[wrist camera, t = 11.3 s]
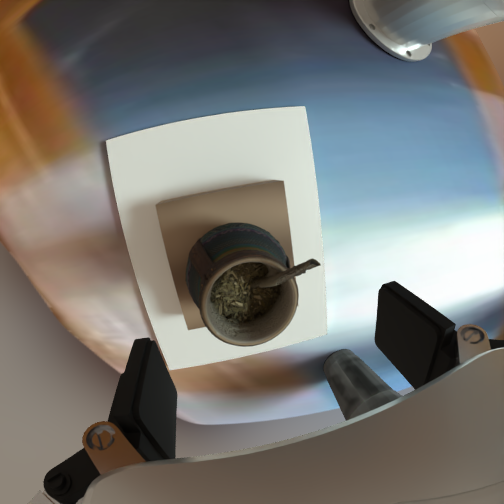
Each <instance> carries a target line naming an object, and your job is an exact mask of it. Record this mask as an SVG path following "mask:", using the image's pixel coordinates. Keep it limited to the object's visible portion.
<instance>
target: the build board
mask: <svg viewBox="0 0 504 504" xmlns="http://www.w3.org/2000/svg"><path fill="white" fill-rule="evenodd" d="M106 145H107V152H108V158H109V164H110V170H111V176H112V182H113V187H114V192H115V197H116V202H117V207H118V211H119V216H120V220H121V224H122V228H123V232H124V236H125V240H126V244H127V248H128V252H129V255H130V259H131V262H132V266H133V269H134V273H135V276H136V279H137V283H138V286H139V289H140V292H141V295H142V298H143V301H144V304H145V307H146V310H147V313H148V316H149V319H150V321H151V324H152V327H153V330H154V332H155V335H156V338H157V340H158V343H159V345H160V348H161V350H162V353H163V355H164V358H165V360H166V363H167V365H168V367H169V370H174V369H180V368H187V367H193V366H198V365H204V364H209V363H215V362H220V361H225V360H230V359H235V358H239V357H244V356H248V355H253V354H257V353H261V352H265V351H269V350H273V349H277V348H281V347H285V346H289V345H292V344H296V343H300V342H303V341H307V340H310V339H314V338H317V337H320V336H324V335H327V308H326V286H325V269H324V254H323V241H322V230H321V219H320V209H319V200H318V191H317V183H316V175H315V167H314V160H313V153H312V146H311V140H310V133H309V127H308V121H307V115H306V110H305V106H300V107H283V108H269V109H259V110H249V111H241V112H233V113H225V114H219V115H212V116H206V117H200V118H195V119H190V120H184V121H179V122H175V123H170V124H165V125H161V126H157V127H153V128H149V129H145V130H141V131H137V132H133V133H130V134H126V135H123V136H119V137H116V138H113V139H109V140H106ZM269 180H281V181H284V186H285V193H286V201H287V208H288V216H289V224H290V232H291V240H292V249H293V257H294V266H296V265H298V264H301V263H303V262H306V261H307V260H309V259H316V260H317V261H318V262H319V263H320V265H321V266H317V267H314V268H312V269H310V270H306V273H304V274H303V273H302V275H299V276H296V283H297V285H298V292H299V298H298V306H297V309H296V312H295V315H294V317H293V319H292V320H291V322H290V324H289V325H288V326H287V327H286V329H285V330H284V331H283V332H282V333H280V334H279V335H278V336H276V337H275V338H274V339H272V340H270V341H268V342H266V343H263V344H260V345H256V346H250V347H241V346H235V345H230V344H227V343H225V342H222V341H221V340H219V339H217V338H216V337H215V336H214V335H212V334H211V332H210V331H209V330H208V329H207V328H206V327H203V328H198V329H192V330H188V329H187V325H186V322H185V319H184V316H183V312H182V309H181V306H180V302H179V299H178V295H177V292H176V288H175V285H174V281H173V277H172V273H171V270H170V266H169V262H168V258H167V254H166V250H165V246H164V242H163V238H162V233H161V229H160V224H159V220H158V215H157V211H156V206H155V205H156V204H157V203H159V202H160V201H163V200H168V199H172V198H177V197H181V196H186V195H191V194H196V193H201V192H206V191H211V190H216V189H222V188H227V187H233V186H238V185H244V184H250V183H256V182H262V181H269Z"/></svg>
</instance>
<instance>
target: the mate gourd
mask: <svg viewBox="0 0 504 504" xmlns="http://www.w3.org/2000/svg"><path fill="white" fill-rule="evenodd" d="M188 255H189V257H188V262H187V266H186V279H185V281H186V285H187V287H188V290H189V294H190V295H191V297H192V299H193V301H194V303H195V304H196V306H197V307H198V308H199V310H200V315H201V318H202V320H203V323H204V325H205V327H206V328H207V329H208V330H209V331H210V332H211V334H212V335H214V336H215V337H216V338H217V339H219V340H221V341H222V342H225V343H227V344H230V345H235V346H241V347H250V346H256V345H260V344H263V343H266V342H268V341H270V340H272V339H274V338H275V337H276V336H278V335H279V334H280V333H282V332H283V331H284V330H285V329H286V327H287V326H288V325H289V324H290V322H291V320H292V319H293V317H294V315H295V312H296V309H297V305H298V298H299V292H298V285H297V283H296V280H295V278H294V277H295V276H299V275H302V273H303V274H304V273H306V270H310V269H312V268H314V267H317V266H321V265H320V263H319V262H318V261H317V260H316V259H309V260H307V261H306V262H303V263H301V264H298V265H296V266H293V267H292V268H291V266H290V261H289V258H288V256H287V255H286V254H285V251H284V249H283V248H282V246H281V245H280V243H279V241H278V240H276V239H275V237H273V236H272V235H271V234H270V232H268V231H266V230H265V229H262V228H260V227H258V226H256V225H252V224H249V223H228V224H224V225H220V226H218V227H216V228H214V229H212V230H210V231H208V232H207V233H206V234H204V235H203V236H202V237H201V238H199V239H198V240H197V242H196V243H195V244H194V245H193V247H192V248H191V250H190V252H189V254H188Z"/></svg>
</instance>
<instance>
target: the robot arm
mask: <svg viewBox="0 0 504 504" xmlns="http://www.w3.org/2000/svg"><path fill="white" fill-rule="evenodd" d="M349 2H350V7H351V10H352V13H353V15H354V17H355V18H356V20H357V22H358V23H359V25H360V26H361V28H362V29H363V30H364V31H365V33H366V34H367V35H368V36H369V37H370V38H371V39H372V40H373V41H374V42H375V43H376V44H377V45H378V46H380V47H381V48H382V49H384V50H385V51H386V52H388V53H389V54H391V55H393V56H395V57H397V58H399V59H401V60H405V61H410V62H415V61H420V60H422V59H424V58H426V57H427V56H428V55H429V53H430V52H431V48H432V43H433V42H435V41H438V40H441V39H444V38H446V37H449V36H452V35H455V34H458V33H461V32H464V31H468V30H471V29H474V28H478V27H481V26H484V25H489V24H493V23H497V22H501V21H504V0H349ZM455 325H456V324H455V323H453V322H452V321H451V320H449V319H448V318H447V317H445V316H444V315H442V314H441V313H440V312H438V311H437V310H436V309H434V308H433V307H431V306H430V305H429V304H427V303H426V302H424V301H423V300H422V299H420V298H419V297H417V296H416V295H414V294H413V293H412V292H410V291H409V290H407V289H406V288H404V287H403V286H401V285H400V284H399V283H397V282H395V281H392V282H389V283H386V284H383V285H382V287H381V289H379V293H378V308H377V320H376V331H375V343H376V345H377V347H378V348H379V349H380V350H381V351H382V352H383V354H384V355H385V356H386V357H387V358H388V359H389V360H390V361H391V363H392V364H393V365H394V366H395V367H396V368H397V369H398V370H399V372H400V373H401V374H402V375H403V376H404V377H405V378H406V380H407V381H408V382H409V383H410V384H411V385H412V386H413V387H414V389H415V390H414V391H412V392H410V393H408V394H406V395H404V396H402V397H400V398H398V399H396V400H394V401H392V402H390V403H387V404H385V405H383V406H381V407H379V408H376V409H374V410H372V411H369V412H367V413H365V414H362V415H360V416H357V417H355V418H352V419H349V420H347V421H344V422H341V423H339V424H336V425H333V426H330V427H327V428H324V429H322V430H318V431H315V432H312V433H308V434H305V435H302V436H298V437H295V438H291V439H287V440H284V441H279V442H275V443H272V444H267V445H262V446H258V447H253V448H248V449H243V450H238V451H231V452H225V453H219V454H212V455H204V456H196V457H187V458H177V459H175V442H176V441H175V440H176V410H177V391H176V388H175V386H174V383H173V381H172V379H171V377H170V375H169V372H168V370H167V368H166V366H165V363H164V361H163V359H162V356H161V354H160V351H159V349H158V347H157V344H156V342H155V341H154V340H153V341H151V340H150V338H142V339H136V340H135V341H134V343H133V346H132V349H131V353H130V356H129V359H128V362H127V365H126V369H125V372H124V373H122V374H121V376H120V379H119V382H118V386H117V389H116V393H115V396H114V400H113V403H112V407H111V411H110V414H109V418H108V422H105V421H102V422H97V423H95V424H93V425H91V426H90V427H89V428H88V429H87V430H86V431H85V432H84V435H83V440H82V443H83V446H84V448H83V449H82V450H80V451H79V452H77V453H76V454H74V455H73V456H71V457H70V458H68V459H67V460H65V461H64V462H62V463H60V464H59V465H57V466H56V467H54V468H53V469H51V470H50V471H49V472H48V473H47V474H46V476H45V479H44V488H45V490H44V492H41V491H39V492H38V493H37V494H36V495H35V496H34V497H33V498H32V500H31V501H30V502H29V503H28V504H504V340H492V339H488V335H487V333H486V331H485V330H484V329H483V328H481V327H479V326H477V325H472V324H468V325H463V326H461V327H460V328H459V329H458V331H455V330H454V329H455Z"/></svg>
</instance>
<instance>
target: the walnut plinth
mask: <svg viewBox="0 0 504 504" xmlns="http://www.w3.org/2000/svg"><path fill="white" fill-rule="evenodd" d="M155 206H156V211H157V215H158V220H159V224H160V229H161V233H162V238H163V242H164V246H165V250H166V254H167V258H168V262H169V266H170V270H171V273H172V277H173V281H174V285H175V288H176V292H177V295H178V299H179V302H180V306H181V309H182V312H183V316H184V319H185V322H186V325H187V329H188V330H192V329H198V328H203V327H205V325H204V323H203V320H202V318H201V315H200V310H199V308H198V307H197V306H196V304H195V303H194V301H193V299H192V297H191V295H190V294H189V290H188V287H187V285H186V281H185V279H186V266H187V262H188V257H189V255H188V254H189V252H190V250H191V248H192V247H193V245H194V244H195V243H196V242H197V240H198V239H199V238H201V237H202V236H203V235H204V234H206V233H207V232H208V231H210V230H212V229H214V228H216V227H218V226H220V225H224V224H228V223H249V224H252V225H256V226H258V227H260V228H262V229H265V230H266V231H268V232H270V234H271V235H272V236H273V237H275V239H276V240H278V241H279V243H280V245H281V246H282V248H283V249H284V251H285V254H286V255H287V256H288V258H289V261H290V266H291V268H292V267H293V266H294V257H293V249H292V240H291V232H290V224H289V216H288V208H287V201H286V193H285V186H284V181H281V180H269V181H262V182H256V183H250V184H244V185H238V186H233V187H227V188H222V189H216V190H211V191H206V192H201V193H196V194H191V195H186V196H181V197H177V198H172V199H168V200H163V201H160V202H159V203H157V204H156V205H155ZM294 278H295V280H296V276H295V277H294ZM297 306H298V305H297Z"/></svg>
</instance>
